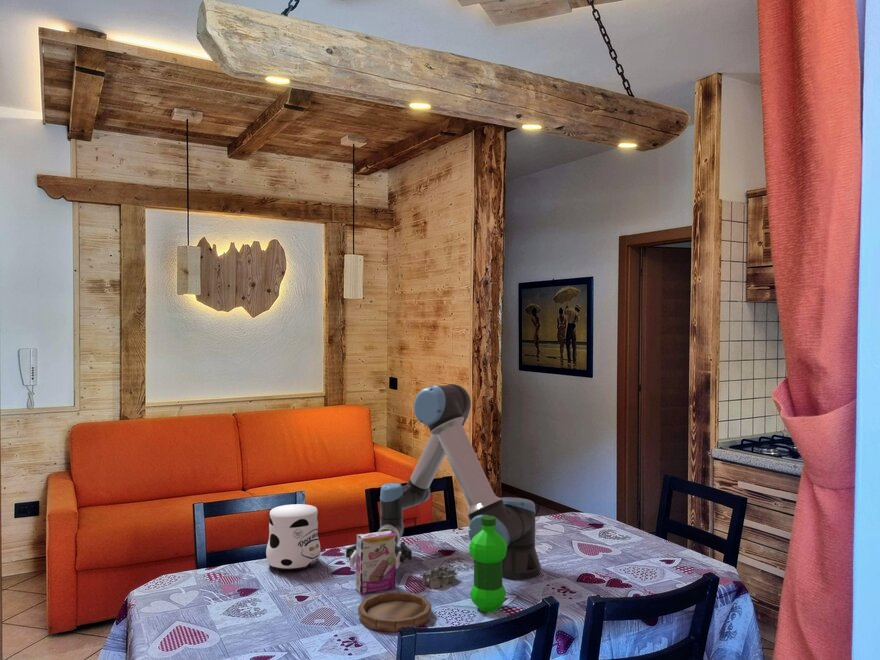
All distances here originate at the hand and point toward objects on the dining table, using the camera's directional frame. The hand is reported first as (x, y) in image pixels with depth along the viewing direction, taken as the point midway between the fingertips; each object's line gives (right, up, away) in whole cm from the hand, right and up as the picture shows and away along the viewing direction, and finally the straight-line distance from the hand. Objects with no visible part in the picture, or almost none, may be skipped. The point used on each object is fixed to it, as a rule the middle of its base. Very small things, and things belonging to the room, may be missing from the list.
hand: (373, 563), depth 194 cm
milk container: (-29, -9, +24) cm, 38 cm away
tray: (+7, -9, -15) cm, 19 cm away
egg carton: (+19, -10, +10) cm, 23 cm away
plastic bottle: (+33, -9, -10) cm, 35 cm away
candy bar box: (0, -9, +3) cm, 10 cm away
